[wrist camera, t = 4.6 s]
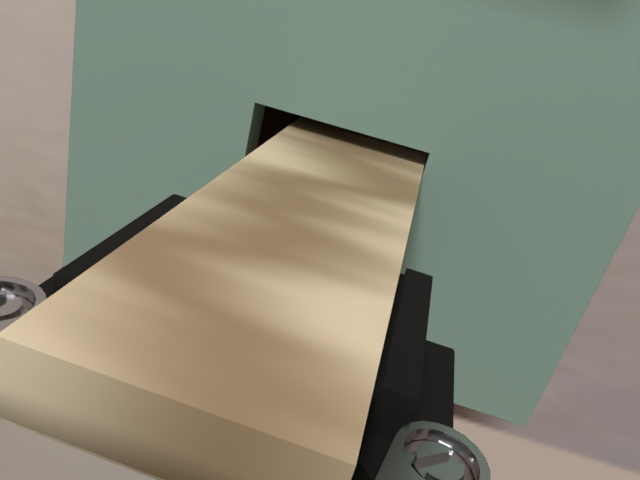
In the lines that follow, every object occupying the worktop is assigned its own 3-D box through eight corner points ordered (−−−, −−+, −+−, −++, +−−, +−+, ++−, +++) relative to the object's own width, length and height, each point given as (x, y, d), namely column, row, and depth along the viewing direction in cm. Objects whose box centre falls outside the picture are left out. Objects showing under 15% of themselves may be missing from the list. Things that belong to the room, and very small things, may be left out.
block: (431, 132, 20) (356, 465, 6) (398, 233, 22) (275, 689, 7) (323, 100, 20) (-6, 335, 6) (299, 201, 22) (-3, 573, 8)
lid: (925, -410, 11) (1186, -635, 7) (521, 402, 19) (538, 502, 15) (137, -552, 12) (-5, -800, 8) (83, 259, 21) (0, 318, 17)
